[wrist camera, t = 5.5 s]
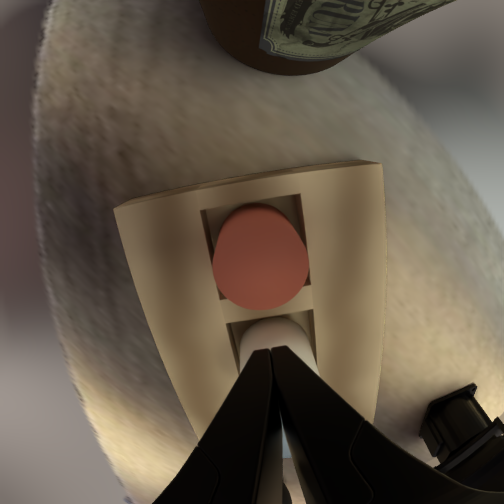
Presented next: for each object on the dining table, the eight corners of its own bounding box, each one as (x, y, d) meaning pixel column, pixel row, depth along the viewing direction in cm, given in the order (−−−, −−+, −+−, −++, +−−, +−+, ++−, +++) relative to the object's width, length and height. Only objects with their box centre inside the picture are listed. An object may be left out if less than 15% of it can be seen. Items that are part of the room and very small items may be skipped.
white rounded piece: (305, 311, 18) (320, 353, 14) (310, 365, 19) (322, 408, 15) (233, 323, 18) (232, 367, 14) (246, 375, 19) (247, 421, 15)
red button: (289, 197, 16) (303, 213, 13) (298, 268, 18) (312, 301, 14) (211, 210, 17) (203, 230, 13) (226, 280, 18) (223, 316, 14)
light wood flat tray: (361, 159, 17) (381, 163, 14) (363, 399, 24) (373, 423, 21) (131, 198, 18) (113, 208, 15) (207, 425, 24) (204, 450, 21)
